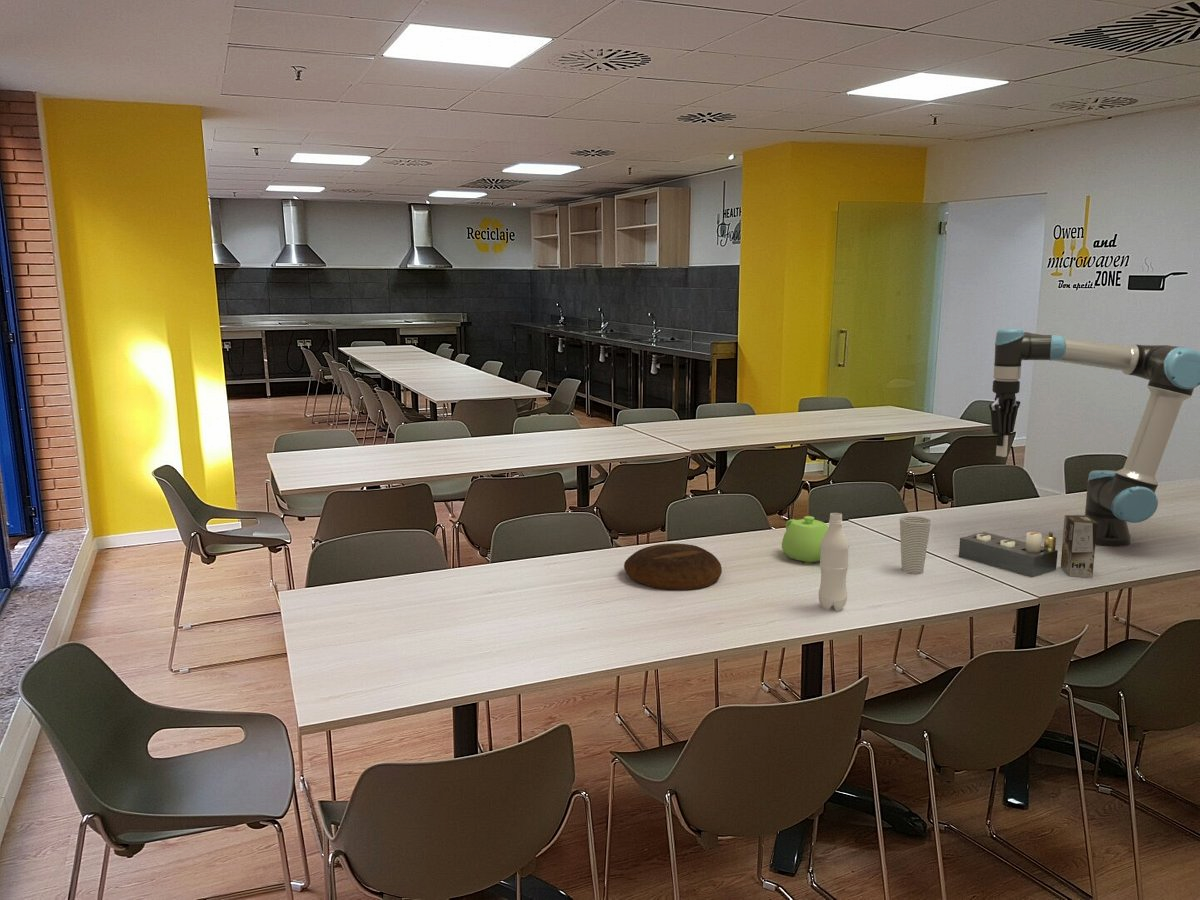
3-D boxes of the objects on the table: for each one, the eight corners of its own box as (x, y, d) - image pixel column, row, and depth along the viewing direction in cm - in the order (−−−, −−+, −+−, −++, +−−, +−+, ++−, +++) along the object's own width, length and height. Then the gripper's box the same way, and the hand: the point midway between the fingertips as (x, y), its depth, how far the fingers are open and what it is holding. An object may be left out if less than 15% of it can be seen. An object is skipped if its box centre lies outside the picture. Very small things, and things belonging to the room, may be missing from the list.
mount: (982, 550, 281) (983, 531, 280) (1056, 570, 261) (1057, 550, 260) (958, 556, 275) (959, 537, 274) (1032, 577, 255) (1033, 557, 254)
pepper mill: (1047, 548, 263) (1048, 530, 262) (1057, 550, 260) (1058, 533, 259) (1041, 549, 261) (1043, 532, 260) (1051, 552, 259) (1052, 534, 258)
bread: (608, 569, 267) (608, 541, 265) (687, 556, 278) (687, 529, 277) (654, 598, 241) (654, 567, 240) (739, 583, 253) (739, 553, 251)
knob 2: (1004, 559, 271) (1005, 538, 270) (1016, 563, 268) (1018, 541, 266) (996, 562, 269) (997, 540, 268) (1008, 565, 265) (1010, 543, 264)
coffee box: (1093, 578, 254) (1098, 523, 251) (1068, 576, 256) (1073, 522, 253) (1083, 568, 263) (1088, 514, 260) (1059, 567, 264) (1064, 514, 261)
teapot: (855, 564, 269) (856, 522, 266) (819, 572, 261) (820, 529, 259) (802, 546, 287) (803, 507, 285) (767, 554, 279) (768, 513, 277)
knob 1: (980, 553, 277) (982, 532, 276) (992, 556, 274) (993, 535, 273) (972, 555, 275) (974, 534, 274) (984, 558, 272) (985, 537, 271)
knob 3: (1030, 552, 263) (1031, 530, 262) (1043, 555, 260) (1044, 533, 259) (1022, 554, 261) (1023, 532, 260) (1034, 558, 258) (1036, 535, 257)
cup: (927, 567, 264) (930, 517, 262) (928, 576, 257) (931, 524, 254) (897, 565, 267) (899, 514, 264) (896, 573, 259) (899, 522, 256)
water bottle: (814, 603, 236) (817, 511, 232) (840, 602, 237) (844, 510, 232) (823, 612, 229) (827, 518, 225) (850, 611, 230) (854, 517, 225)
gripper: (1007, 377, 279) (1002, 451, 283) (982, 380, 272) (977, 456, 276) (1030, 379, 273) (1024, 455, 277) (1005, 382, 266) (1000, 460, 270)
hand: (1001, 455), depth 276 cm, fingers closed
